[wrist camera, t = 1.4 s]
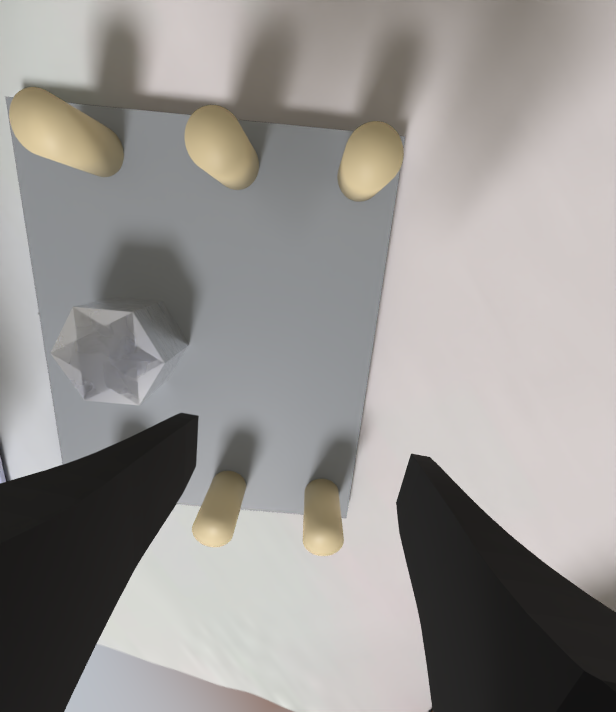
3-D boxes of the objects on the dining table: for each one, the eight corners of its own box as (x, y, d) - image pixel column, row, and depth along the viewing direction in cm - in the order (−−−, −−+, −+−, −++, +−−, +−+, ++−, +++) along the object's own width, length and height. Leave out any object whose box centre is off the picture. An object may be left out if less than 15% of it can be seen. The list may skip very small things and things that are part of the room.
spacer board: (76, 485, 25) (20, 541, 20) (22, 105, 17) (-88, 50, 13) (345, 508, 25) (352, 568, 20) (400, 142, 18) (432, 102, 13)
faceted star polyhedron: (98, 374, 21) (57, 398, 18) (89, 294, 19) (42, 304, 16) (189, 382, 21) (166, 407, 18) (188, 303, 20) (162, 314, 16)
